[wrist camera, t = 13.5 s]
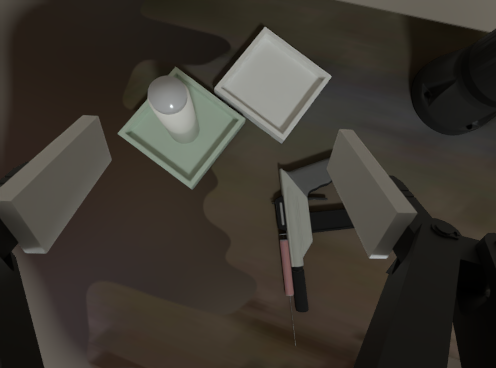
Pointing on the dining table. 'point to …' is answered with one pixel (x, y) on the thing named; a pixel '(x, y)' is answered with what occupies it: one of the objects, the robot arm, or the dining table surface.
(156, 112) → the sugar shaker
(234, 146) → the dining table surface
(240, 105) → the grey tray
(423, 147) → the dining table surface
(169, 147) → the green tray
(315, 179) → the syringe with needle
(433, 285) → the robot arm
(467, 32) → the dining table surface
